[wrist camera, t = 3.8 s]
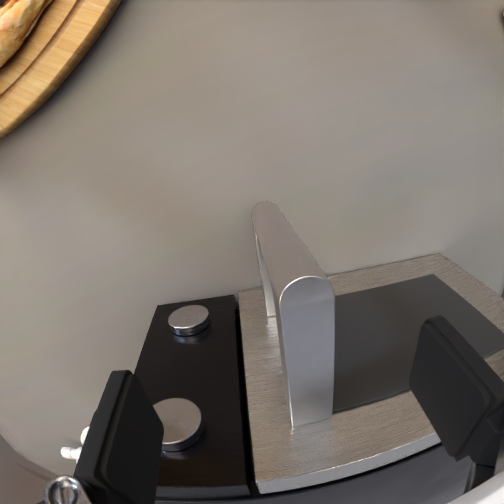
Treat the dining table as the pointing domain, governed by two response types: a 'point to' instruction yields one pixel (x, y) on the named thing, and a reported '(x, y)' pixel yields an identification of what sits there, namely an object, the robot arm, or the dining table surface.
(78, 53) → the wooden plate
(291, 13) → the dining table surface
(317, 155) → the dining table surface
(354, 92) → the dining table surface
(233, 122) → the dining table surface
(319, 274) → the microwave door
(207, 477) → the microwave
